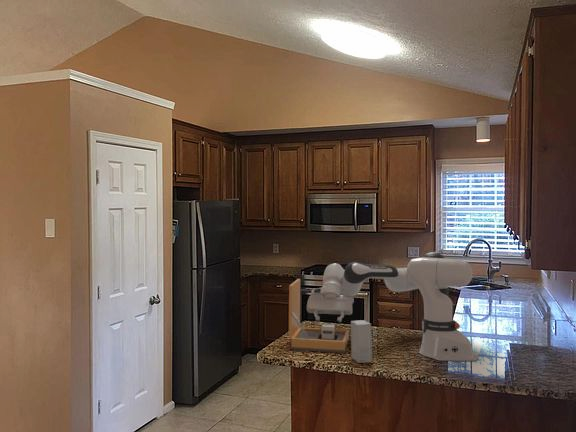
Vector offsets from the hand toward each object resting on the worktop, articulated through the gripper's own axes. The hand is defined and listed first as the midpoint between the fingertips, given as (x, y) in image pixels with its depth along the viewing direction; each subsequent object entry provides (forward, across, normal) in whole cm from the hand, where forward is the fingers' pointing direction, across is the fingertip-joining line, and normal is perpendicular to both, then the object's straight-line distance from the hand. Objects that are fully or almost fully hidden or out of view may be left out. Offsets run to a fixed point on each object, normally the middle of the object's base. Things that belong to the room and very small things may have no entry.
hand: (328, 321), depth 224 cm
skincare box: (+22, -15, +8) cm, 28 cm away
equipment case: (+9, +3, -5) cm, 10 cm away
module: (+8, 0, -4) cm, 9 cm away
